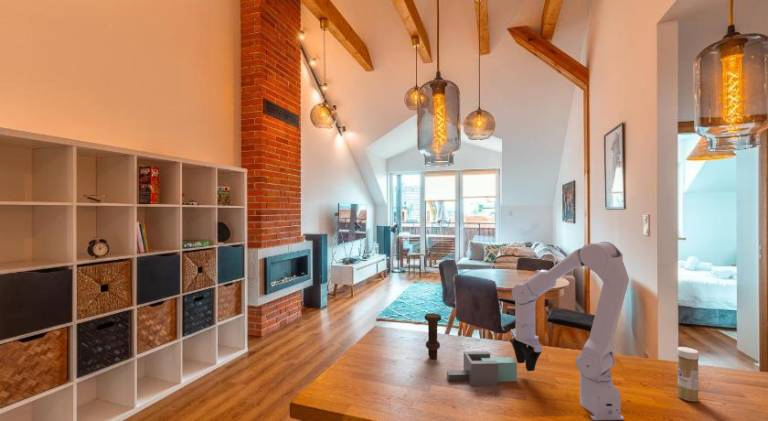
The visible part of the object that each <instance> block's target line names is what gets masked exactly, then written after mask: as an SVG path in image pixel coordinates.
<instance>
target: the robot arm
mask: <svg viewBox="0 0 768 421" xmlns="http://www.w3.org/2000/svg"><path fill="white" fill-rule="evenodd" d="M623 256H624V255H623V253H622V252H621V251H620V250H619V249H618V247H617V246H616V245H614V244H613V243H611V242H609V241H600V242H597V243H593V242H592V243H591V242H590V243H586V244H585V245H583V246H582V247H581V248H577V249H575V250H574V251H573V252H571V253H570V254H568V255H567V256H566V257H564V258H563V259H562V260H560V261H559V262H558V263H557V264H555V265H553V267H552V268H550V269H549V270H548V269H541V270H540V269H537V270H535V271H534V274H533V275H532V276H530V277H529V278H525V279H523V283H521V284H520V283H518V284H515V286H514V287H513V288H512V289H511V297H512V299H513V301H514V302H515V305H514V306H515V308H514V309H515V328H513V329H512V328H511V329H510V335H511V337H513V338H511V339H509V342H510V344H511V346H512V348H513V350H514V355H515V359H516V362H517V364H524V363H525V368H526V371H527V372H534V371H535V369H536V365H537V361H538V359H539V358H540V355H541V354H542V352H543V345H542V344H541V343H540V342H539V338H540V337H539V336H538V335H536V303H537V300H538V299H539V297H541V296H542V295H544V294H545V293H547V292H548V291H550V290H551V289H553V288H554V287H556V285H557V280H558V279H560V278H561V277H563V276H565V275H567V274H568V273H570V272H571V271H573V270H575V269H577V268H580V267H581V268H582V267H587V268H588V269H590V270H591V271H592V272H594V273H595V274H596V275H597V276H598V277H599V279H600V280H601V281H602V287H601V291H600V295H599V299H598V303H597V306H596V311H595V314H594V318H593V321H592V326H591V329H590V333H589V337H588V339H587V341H586V342H585V344H584V345H583V347H582V350H581V352H580V353H579V354H578V355H577V356H576V358H575V365H576V368H577V370H578V372H579V403H580V406H582V408H584V409H585V410H586V411H589V412H590V413H591V414H588V417H590V418H591V420H593V421H619V420H620V421H623V420H624V419H625V417H624V416H623V415H622V413H621V412H622V410H621V407H622V404H621V401H622V400H621V392H620V391H619V389H618V388H617V387H616V386H615V385H614V382H613V379H612V372H611V369H612V368H613V367H614V366H615V363H616V358H615V356H614V350H615V346H614V345H613V340H614V337H615V334H616V330H617V326H618V323H619V320H620V315H621V311H622V307H623V305H624V301H625V298H626V294H627V289H628V286H629V282H630V277H629V275H628V271H627V268H626V266H625V262H624V261H623V260H624V259H623V258H624V257H623Z"/></svg>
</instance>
